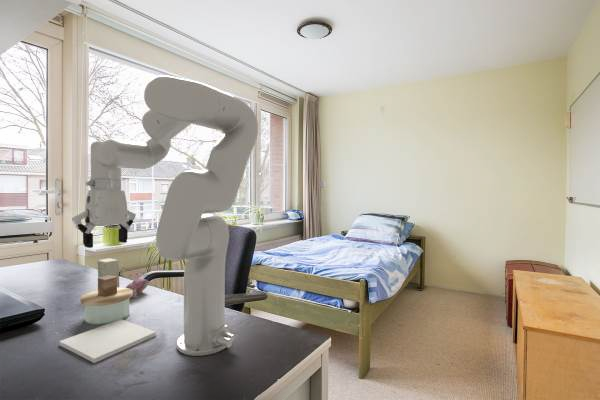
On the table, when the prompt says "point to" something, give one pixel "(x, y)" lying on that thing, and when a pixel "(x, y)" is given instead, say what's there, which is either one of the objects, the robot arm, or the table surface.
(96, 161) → the robot arm
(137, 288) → the video game controller
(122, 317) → the bowl
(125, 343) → the mat
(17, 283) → the table surface
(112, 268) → the skincare box
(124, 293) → the lid
